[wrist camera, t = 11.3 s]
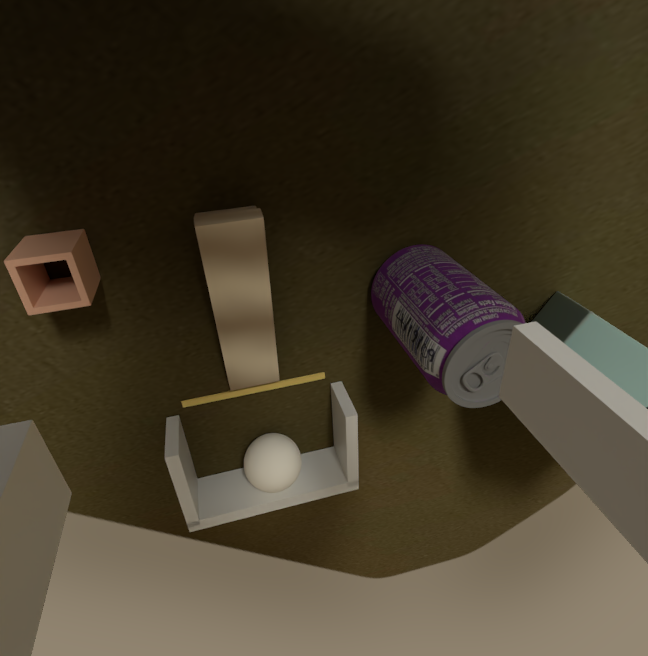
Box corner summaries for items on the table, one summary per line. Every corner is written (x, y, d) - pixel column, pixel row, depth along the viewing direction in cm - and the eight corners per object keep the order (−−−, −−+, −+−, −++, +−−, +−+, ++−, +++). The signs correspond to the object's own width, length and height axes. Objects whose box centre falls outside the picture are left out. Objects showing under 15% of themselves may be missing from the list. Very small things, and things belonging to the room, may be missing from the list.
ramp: (192, 202, 30) (193, 222, 26) (253, 194, 30) (263, 213, 27) (229, 382, 38) (234, 416, 34) (277, 372, 38) (286, 405, 35)
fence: (166, 417, 37) (164, 458, 34) (341, 381, 40) (357, 414, 37) (189, 489, 42) (189, 532, 38) (344, 452, 45) (358, 488, 41)
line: (181, 400, 37) (181, 402, 37) (324, 371, 39) (324, 372, 39) (183, 406, 37) (183, 407, 37) (324, 377, 40) (325, 378, 39)
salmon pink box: (24, 236, 28) (3, 261, 25) (84, 228, 29) (71, 251, 25) (45, 285, 30) (28, 315, 26) (101, 277, 30) (90, 305, 27)
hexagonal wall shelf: (495, 341, 49) (532, 424, 30) (544, 281, 47) (619, 329, 27) (632, 432, 48) (765, 580, 28) (689, 375, 45) (878, 497, 26)
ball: (238, 454, 36) (237, 432, 41) (251, 511, 37) (249, 483, 42) (299, 438, 37) (291, 419, 42) (311, 494, 38) (301, 468, 43)
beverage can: (399, 335, 39) (472, 431, 30) (350, 286, 36) (414, 376, 26) (464, 279, 38) (562, 359, 28) (419, 222, 34) (515, 291, 24)
